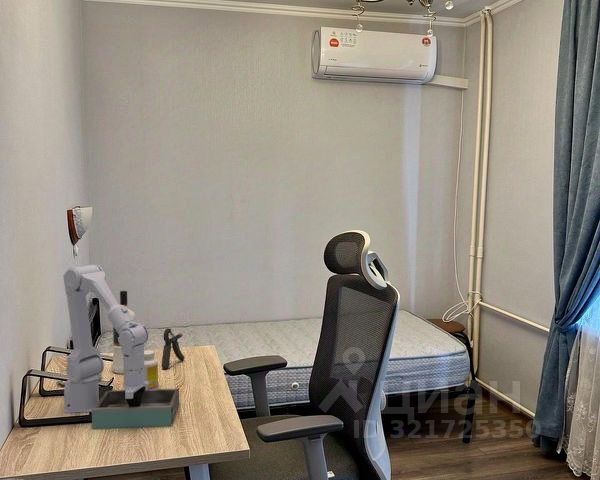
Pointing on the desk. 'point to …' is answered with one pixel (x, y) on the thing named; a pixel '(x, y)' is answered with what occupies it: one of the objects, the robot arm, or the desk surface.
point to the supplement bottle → (151, 369)
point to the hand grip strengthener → (168, 348)
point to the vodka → (117, 354)
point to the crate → (143, 399)
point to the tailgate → (131, 417)
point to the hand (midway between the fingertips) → (135, 413)
